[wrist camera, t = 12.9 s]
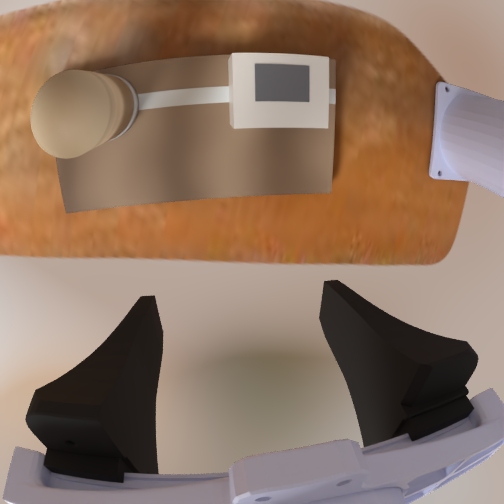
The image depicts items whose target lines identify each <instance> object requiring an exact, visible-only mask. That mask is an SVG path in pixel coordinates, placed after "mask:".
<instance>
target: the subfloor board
mask: <svg viewBox="0 0 504 504" xmlns="http://www.w3.org/2000/svg"><path fill="white" fill-rule="evenodd" d="M230 56H231V55H207V56H192V57H180V58H170V59H161V60H153V61H146V62H139V63H133V64H127V65H121V66H115V67H110V68H105V69H100V70H96V71H91V72H96V73H102V74H112V75H117V76H120V77H123V78H125V79H126V80H128V81H129V82H130V83H131V84H132V85H133V86H134V88H135V89H136V91H137V94H138V98H139V111H138V115H137V118H136V120H135V122H134V124H133V125H132V126H131V128H130V129H129V130H128V131H127V132H126V133H124V134H123V135H121V136H119V137H117V138H115V139H113V140H111V141H108V142H105V143H104V144H102V145H100V146H98V147H96V148H94V149H92V150H90V151H88V152H86V153H84V154H83V155H80V156H78V157H74V158H68V159H64V158H57V157H56V162H57V169H58V175H59V180H60V186H61V191H62V196H63V201H64V206H65V211H66V213H73V212H81V211H89V210H97V209H106V208H114V207H123V206H133V205H142V204H153V203H163V202H175V201H187V200H199V199H213V198H228V197H244V196H263V195H284V194H312V193H331V188H332V173H333V156H334V134H335V104H336V59H329V120H328V128H240V129H234V128H233V127H232V126H231V125H230V111H229V72H228V59H229V58H230Z"/></svg>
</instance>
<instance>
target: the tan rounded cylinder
mask: <svg viewBox="0 0 504 504" xmlns="http://www.w3.org/2000/svg"><path fill="white" fill-rule="evenodd" d="M138 111H139V98H138V94H137V91H136V89H135V88H134V86H133V85H132V84H131V83H130V82H129V81H128V80H126V79H125V78H123V77H120V76H117V75H112V74H102V73H96V72H90V71H84V70H76V69H74V70H66V71H63V72H60V73H58V74H56V75H54V76H53V77H51V78H50V79H49V80H48V81H46V82H45V84H44V85H43V86H42V87H41V88H40V90H39V91H38V93H37V95H36V97H35V99H34V102H33V105H32V110H31V128H32V132H33V135H34V137H35V139H36V141H37V143H38V144H39V145H40V147H41V148H42V149H43V150H44V151H45V152H47V153H48V154H50V155H52V156H54V157H57V158H64V159H68V158H74V157H78V156H80V155H83V154H84V153H86V152H88V151H90V150H92V149H94V148H96V147H98V146H100V145H102V144H104V143H105V142H108V141H111V140H113V139H115V138H117V137H119V136H121V135H123V134H124V133H126V132H127V131H128V130H129V129H130V128H131V126H132V125H133V124H134V122H135V120H136V118H137V115H138Z"/></svg>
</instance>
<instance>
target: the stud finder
mask: <svg viewBox="0 0 504 504" xmlns="http://www.w3.org/2000/svg"><path fill="white" fill-rule="evenodd" d="M228 72H229V111H230V125H231V126H232V127H233V128H234V129H240V128H328V120H329V57H323V56H313V55H300V54H282V53H232V54H231V56H230V58H229V59H228Z"/></svg>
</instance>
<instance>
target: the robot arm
mask: <svg viewBox="0 0 504 504" xmlns="http://www.w3.org/2000/svg"><path fill="white" fill-rule="evenodd" d="M445 88H447V91H446V90H445ZM439 171H440V173H439V175H438V172H439ZM429 175H430V177H432V178H434V179H446V180H460V181H472V182H474V183H476V184H478V185H480V186H482V187H484V188H486V189H488V190H490V191H492V192H494V193H496V194H498V195H499V196H501V197H503V198H504V101H502V100H496V99H494V98H491V97H488V96H485V95H483V94H479V93H477V92H474V91H471V90H468V89H465V88H461V87H458V86H455V85H452V84H448V83H445V82H438V83H437V84H436V97H435V116H434V130H433V141H432V151H431V160H430V168H429ZM319 319H320V322H321V326H322V329H323V332H324V334H325V338H326V340H327V342H328V344H329V346H330V348H331V350H332V352H333V354H334V356H335V358H336V361H337V362H338V365H339V367H340V369H341V371H342V373H343V375H344V378H345V380H346V382H347V385H348V389H349V391H350V395H351V398H352V401H353V404H354V407H355V411H356V414H357V419H358V422H359V426H360V431H361V435H362V439H363V445H364V448H360V446H359V443H358V442H355V441H352V440H349V439H343V440H335V441H330V442H326V443H321V444H316V445H311V446H306V447H301V448H295V449H289V450H283V451H277V452H270V453H263V454H258V455H253V456H249V457H245V458H243V459H241V460H238V461H236V462H234V463H233V464H232V465H231V467H230V469H229V471H228V472H227V473H212V474H185V475H183V474H182V475H181V474H177V475H171V474H165V475H163V474H159V473H158V463H157V448H156V394H157V388H158V380H159V374H160V367H161V361H162V354H163V330H162V325H161V321H160V317H159V313H158V308H157V304H156V299H155V296H142V297H140V298H139V299H138V301H137V302H136V303H135V304H134V306H133V307H132V308H131V310H130V311H129V312H128V314H127V315H126V316H125V318H124V319H123V320H122V321H121V323H120V324H119V325H118V326H117V328H116V329H115V330H114V331H113V332H112V333H111V335H110V336H109V337H108V338H107V339H106V340H105V341H104V342H103V343H102V344H101V345H100V346H99V347H98V348H97V349H96V350H95V351H94V352H93V353H92V354H91V355H90V356H88V357H87V358H86V359H85V360H83V361H82V362H81V363H79V364H78V365H77V366H76V367H74V368H73V369H72V370H70V371H69V372H67V373H66V374H64V375H63V376H61V377H59V378H58V379H56V380H54V381H53V382H50V383H48V384H47V385H45V386H43V387H41V388H39V389H37V390H35V393H34V395H33V398H32V401H31V403H30V406H29V409H28V412H27V415H26V423H27V425H28V427H29V428H30V430H31V431H32V432H33V433H34V435H36V437H37V438H38V439H39V440H40V441H41V442H42V443H43V444H44V445H45V446H46V447H47V451H46V455H44V454H42V453H40V452H38V451H34V450H30V449H25V448H21V447H15V450H14V454H13V457H12V461H11V464H10V468H9V473H8V476H7V481H6V485H5V489H4V494H3V499H4V500H5V501H6V502H8V503H9V504H409V503H411V502H413V501H415V500H417V499H419V498H421V497H423V496H425V495H427V494H429V493H431V492H432V491H435V490H437V489H438V488H440V487H442V486H444V485H445V484H447V483H449V482H451V481H452V480H454V479H456V478H457V477H459V476H461V475H462V474H464V473H466V472H467V471H469V470H471V469H472V468H474V467H476V466H477V465H479V464H480V463H482V462H483V461H485V460H487V459H488V458H489V457H490V456H492V455H493V454H494V453H495V452H496V451H497V450H498V449H499V448H500V447H501V446H502V445H503V444H504V404H503V402H502V401H501V400H500V398H499V397H498V395H497V394H496V393H495V391H494V390H493V388H490V389H488V390H486V391H484V392H482V393H480V394H478V395H476V396H475V397H473V398H472V399H471V400H470V401H469V399H468V398H467V396H466V395H467V394H468V393H469V391H468V389H467V388H466V386H465V385H466V384H467V382H468V380H469V379H470V377H471V375H472V374H473V372H474V370H475V368H476V366H477V363H478V355H477V354H476V352H475V351H474V350H473V349H472V347H471V346H470V345H469V344H468V342H466V341H461V340H456V339H451V338H447V337H443V336H439V335H436V334H433V333H430V332H426V331H424V330H421V329H419V328H416V327H414V326H411V325H409V324H407V323H405V322H403V321H401V320H399V319H397V318H395V317H393V316H391V315H389V314H388V313H386V312H384V311H383V310H381V309H379V308H378V307H376V306H375V305H373V304H372V303H370V302H368V301H367V300H366V299H364V298H363V297H361V296H360V295H358V294H357V293H356V292H354V291H353V290H351V289H350V288H349V287H347V286H346V285H344V284H343V283H341V282H340V281H338V280H331V281H324V287H323V294H322V302H321V309H320V316H319Z"/></svg>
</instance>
